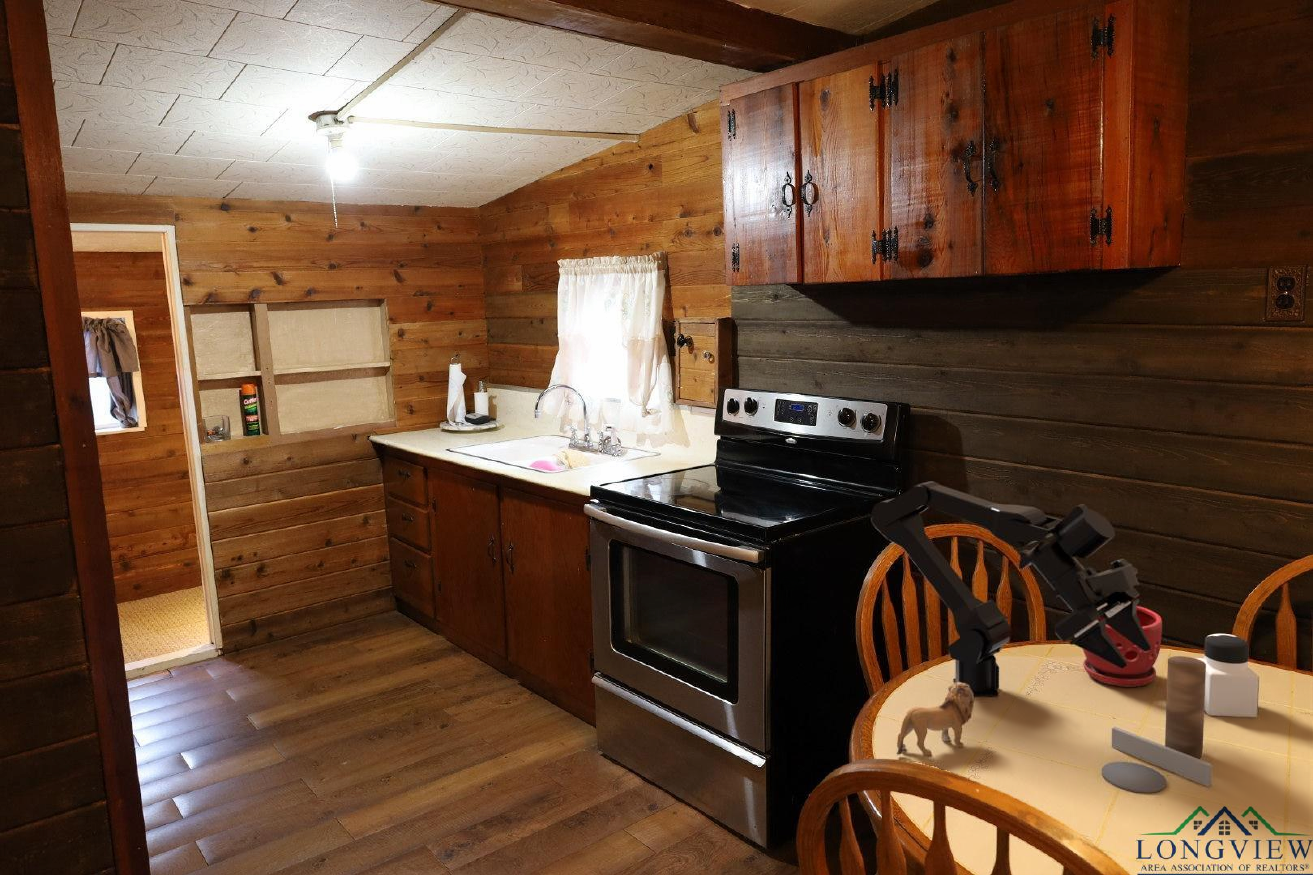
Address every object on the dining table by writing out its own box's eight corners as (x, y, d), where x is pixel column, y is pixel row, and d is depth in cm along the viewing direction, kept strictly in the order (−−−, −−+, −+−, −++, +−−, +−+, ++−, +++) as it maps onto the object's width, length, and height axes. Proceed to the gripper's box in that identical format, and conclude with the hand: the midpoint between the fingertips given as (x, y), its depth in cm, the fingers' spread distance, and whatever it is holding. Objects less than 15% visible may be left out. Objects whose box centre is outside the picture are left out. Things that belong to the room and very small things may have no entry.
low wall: (1111, 746, 134) (1112, 728, 133) (1114, 745, 134) (1115, 726, 134) (1207, 786, 122) (1208, 765, 121) (1211, 784, 122) (1211, 764, 122)
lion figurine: (957, 728, 142) (957, 674, 141) (983, 741, 137) (983, 686, 136) (885, 751, 135) (885, 695, 134) (910, 765, 131) (909, 707, 129)
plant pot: (1068, 663, 166) (1069, 601, 164) (1142, 664, 164) (1144, 601, 162) (1092, 692, 153) (1093, 625, 151) (1173, 693, 151) (1175, 626, 150)
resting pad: (1114, 791, 121) (1114, 789, 121) (1093, 763, 129) (1093, 760, 129) (1176, 793, 120) (1176, 791, 120) (1151, 764, 128) (1151, 762, 128)
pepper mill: (1173, 760, 129) (1176, 668, 127) (1159, 744, 134) (1162, 655, 132) (1208, 760, 128) (1212, 668, 127) (1193, 745, 133) (1196, 656, 131)
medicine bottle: (1258, 718, 141) (1261, 646, 139) (1208, 716, 142) (1211, 644, 141) (1238, 699, 148) (1241, 630, 146) (1191, 697, 149) (1194, 629, 148)
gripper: (1076, 557, 130) (1155, 647, 124) (1127, 534, 143) (1201, 615, 136) (1024, 598, 137) (1096, 686, 130) (1076, 573, 149) (1145, 651, 143)
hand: (1137, 658), depth 135 cm, fingers open, 9 cm apart
